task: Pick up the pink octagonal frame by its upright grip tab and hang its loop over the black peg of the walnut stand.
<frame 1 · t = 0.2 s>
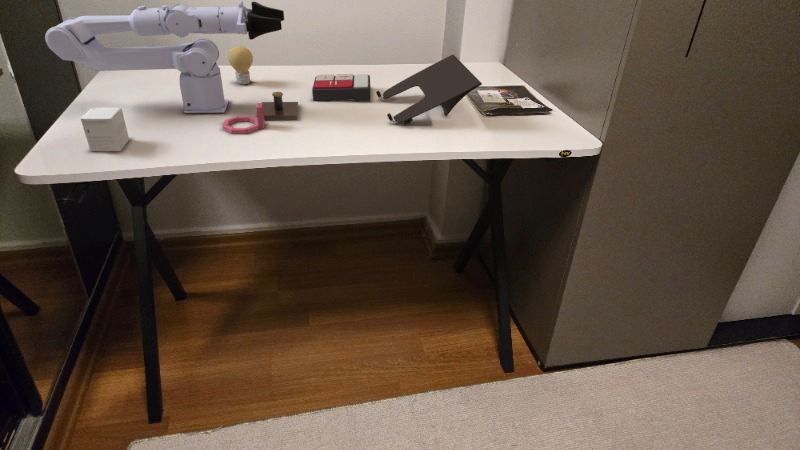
hand: (282, 19, 121), 21 cm above the table, tool horizontal, fingers open, 7 cm apart
product box: (110, 146, 111), on the table
light bulb: (243, 83, 146), on the table
button keypad: (342, 94, 142), on the table
pink octagonal frame: (242, 126, 122), on the table
stand: (279, 113, 129), on the table
laptop tray: (422, 110, 135), on the table
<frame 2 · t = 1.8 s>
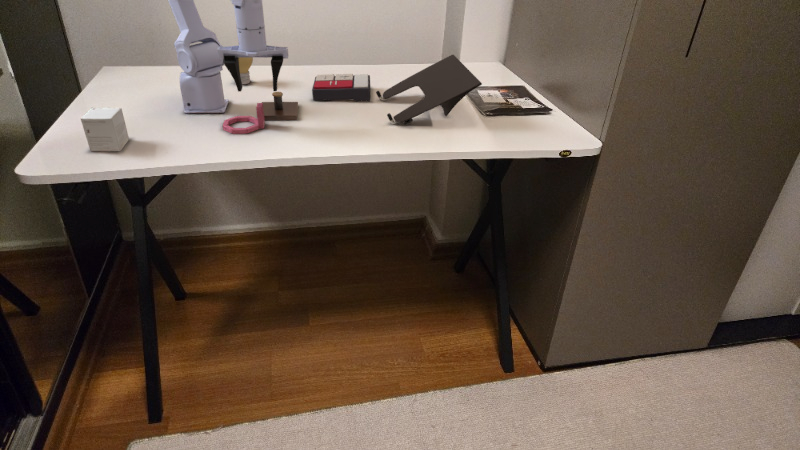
hand: (257, 89, 118), 9 cm above the table, tool pointing down, fingers open, 7 cm apart
nothing on the table moved.
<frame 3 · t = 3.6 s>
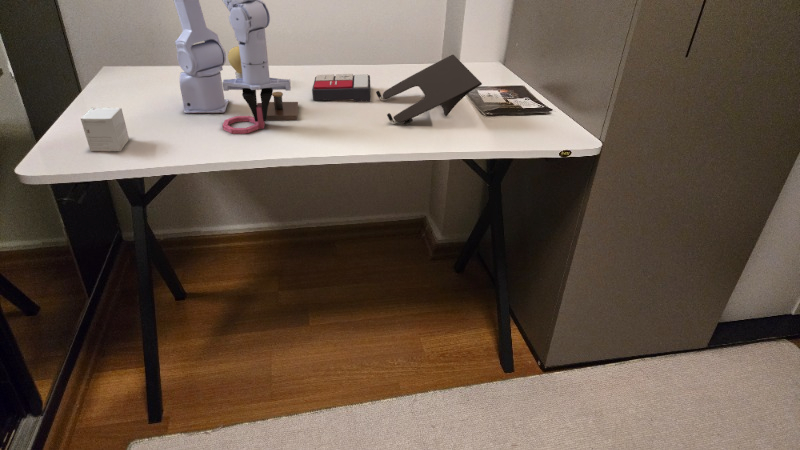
hand: (261, 119, 122), 2 cm above the table, tool pointing down, fingers closed on pink octagonal frame
pink octagonal frame: (242, 126, 122), on the table, touching gripper
everything else where it was.
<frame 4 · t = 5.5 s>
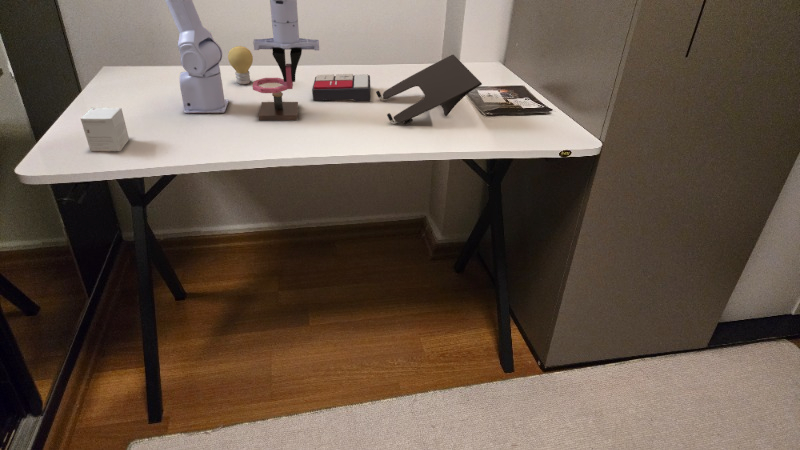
hand: (289, 80, 124), 9 cm above the table, tool pointing down, fingers closed on pink octagonal frame
pink octagonal frame: (270, 87, 124), point 7 cm above the table, touching gripper
everything else where it was.
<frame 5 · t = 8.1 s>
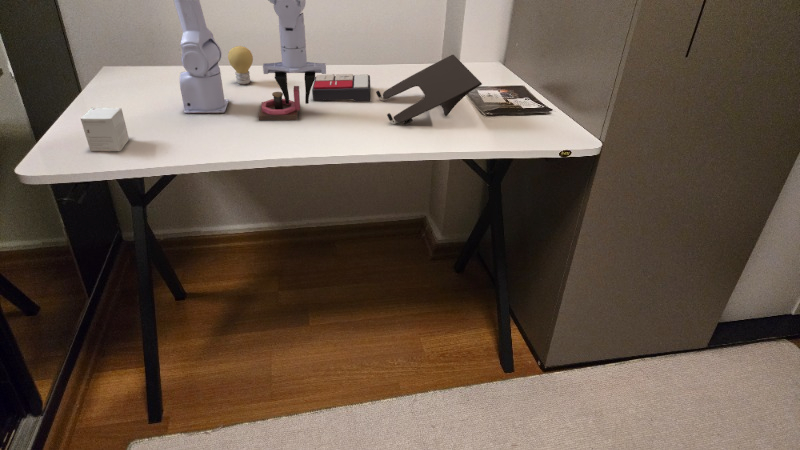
hand: (297, 102, 128), 3 cm above the table, tool pointing down, fingers open, 4 cm apart
pink octagonal frame: (278, 108, 129), point 1 cm above the table, touching stand
everything else where it was.
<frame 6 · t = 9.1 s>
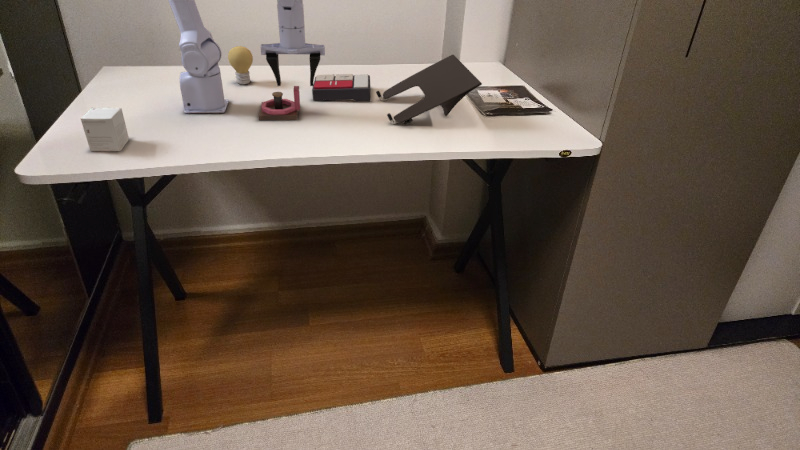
hand: (295, 84, 126), 7 cm above the table, tool pointing down, fingers open, 7 cm apart
nothing on the table moved.
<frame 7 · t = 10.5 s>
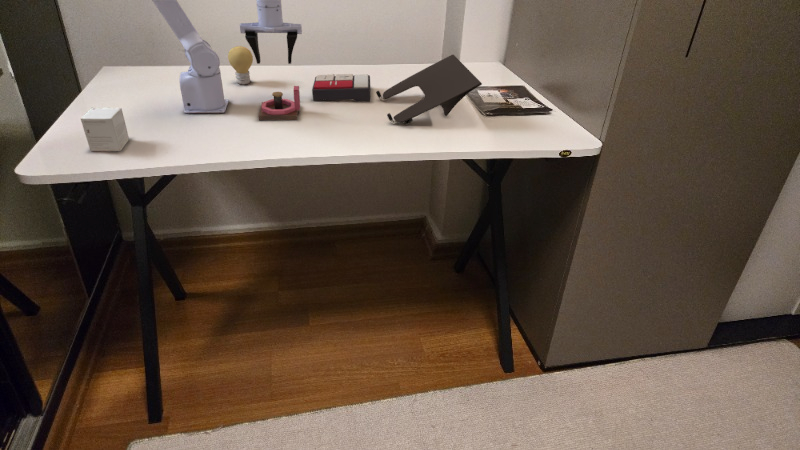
hand: (274, 62, 132), 9 cm above the table, tool pointing down, fingers open, 7 cm apart
nothing on the table moved.
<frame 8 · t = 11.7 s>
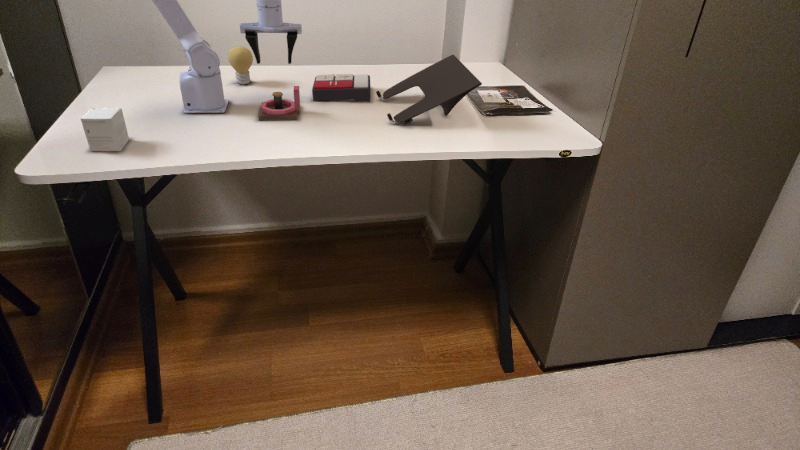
hand: (274, 62, 132), 9 cm above the table, tool pointing down, fingers open, 7 cm apart
nothing on the table moved.
at the end: pink octagonal frame 0.0 cm off-centre on the stand, point 1.2 cm above the stand's base; the gripper is holding nothing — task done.
